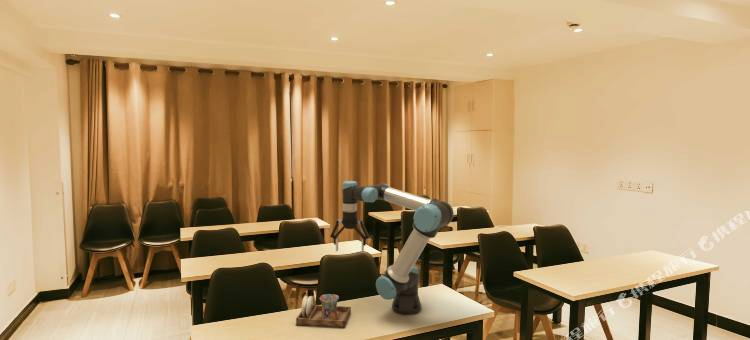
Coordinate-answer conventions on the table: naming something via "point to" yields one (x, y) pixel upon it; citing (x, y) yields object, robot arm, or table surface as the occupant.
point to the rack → (316, 319)
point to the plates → (307, 306)
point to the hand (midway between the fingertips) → (349, 251)
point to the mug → (329, 306)
